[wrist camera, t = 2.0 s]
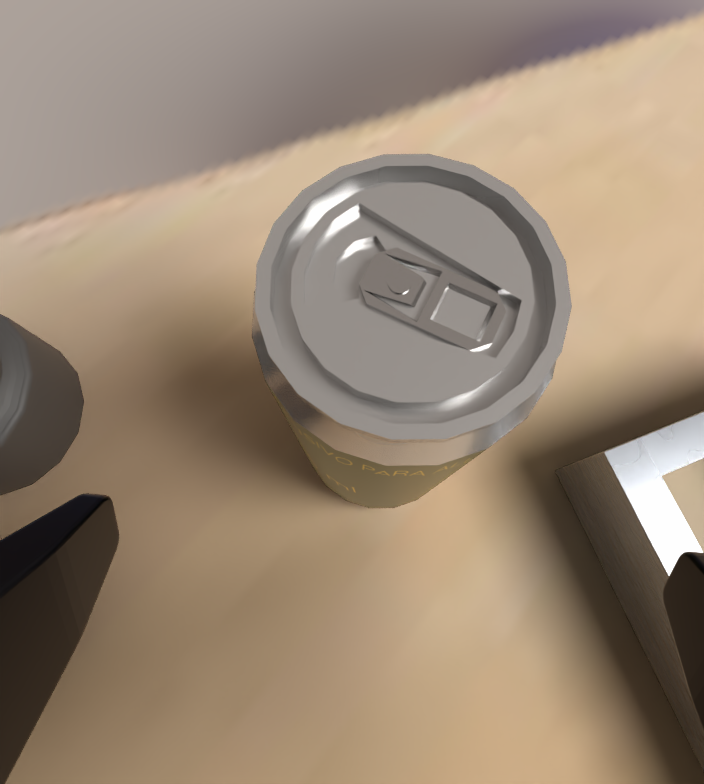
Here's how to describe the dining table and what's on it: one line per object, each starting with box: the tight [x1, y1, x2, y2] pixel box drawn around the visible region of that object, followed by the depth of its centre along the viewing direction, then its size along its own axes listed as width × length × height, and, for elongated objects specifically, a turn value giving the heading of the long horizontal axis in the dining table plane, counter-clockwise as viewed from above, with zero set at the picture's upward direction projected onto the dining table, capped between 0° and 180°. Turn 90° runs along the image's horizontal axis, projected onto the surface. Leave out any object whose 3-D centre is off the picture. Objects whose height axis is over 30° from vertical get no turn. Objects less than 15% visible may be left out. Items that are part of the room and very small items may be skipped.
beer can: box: [252, 154, 572, 508], centre depth 14 cm, size 5×5×12 cm
